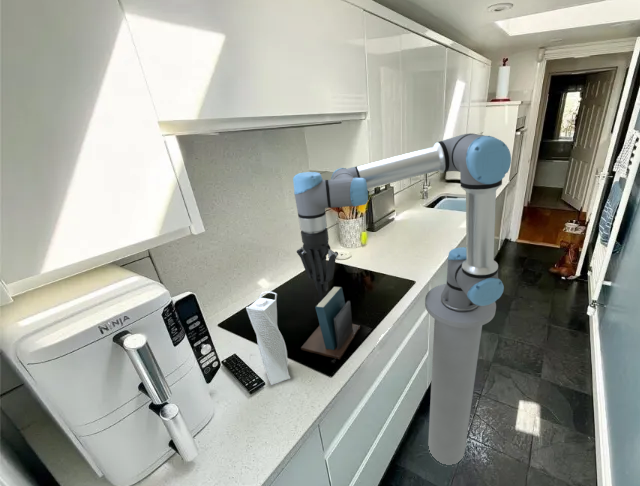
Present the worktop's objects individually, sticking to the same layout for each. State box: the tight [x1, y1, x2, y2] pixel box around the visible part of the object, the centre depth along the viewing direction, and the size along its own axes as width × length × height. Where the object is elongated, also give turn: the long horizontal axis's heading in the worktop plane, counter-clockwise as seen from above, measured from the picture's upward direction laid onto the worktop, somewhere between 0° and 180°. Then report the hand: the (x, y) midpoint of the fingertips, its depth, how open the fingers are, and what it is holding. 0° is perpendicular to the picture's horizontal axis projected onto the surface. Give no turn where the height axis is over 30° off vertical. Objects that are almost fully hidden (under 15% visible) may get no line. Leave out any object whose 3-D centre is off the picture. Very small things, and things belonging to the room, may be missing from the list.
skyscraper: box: [245, 290, 291, 386], centre depth 84 cm, size 8×8×28 cm
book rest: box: [300, 300, 361, 360], centre depth 101 cm, size 14×16×13 cm
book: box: [314, 286, 346, 350], centre depth 100 cm, size 3×12×16 cm, turn 160°
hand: (323, 298), depth 98 cm, fingers closed
